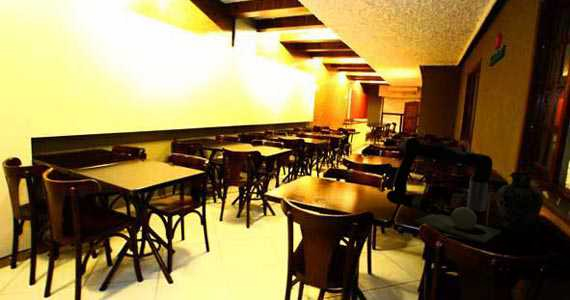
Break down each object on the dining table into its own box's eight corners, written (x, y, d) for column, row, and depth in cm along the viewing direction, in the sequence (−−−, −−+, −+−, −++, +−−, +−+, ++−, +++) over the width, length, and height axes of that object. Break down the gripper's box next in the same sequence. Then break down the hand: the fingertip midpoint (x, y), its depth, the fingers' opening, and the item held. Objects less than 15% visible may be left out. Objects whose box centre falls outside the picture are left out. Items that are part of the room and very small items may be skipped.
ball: (465, 203, 160) (480, 222, 156) (445, 214, 163) (459, 233, 158) (467, 202, 150) (483, 223, 146) (446, 214, 153) (461, 235, 149)
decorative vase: (542, 238, 147) (549, 179, 143) (494, 230, 156) (500, 174, 153) (535, 225, 165) (542, 172, 161) (493, 218, 174) (498, 168, 171)
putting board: (414, 222, 163) (418, 186, 160) (434, 214, 177) (438, 181, 174) (483, 243, 138) (489, 201, 136) (501, 232, 152) (506, 194, 150)
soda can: (466, 218, 172) (468, 196, 171) (452, 216, 174) (454, 195, 172) (461, 214, 179) (464, 193, 178) (448, 212, 180) (450, 192, 179)
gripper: (416, 199, 165) (448, 207, 153) (429, 195, 174) (460, 203, 162) (415, 213, 166) (446, 222, 154) (428, 208, 175) (459, 217, 163)
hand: (453, 212), depth 158 cm, fingers open, 8 cm apart
